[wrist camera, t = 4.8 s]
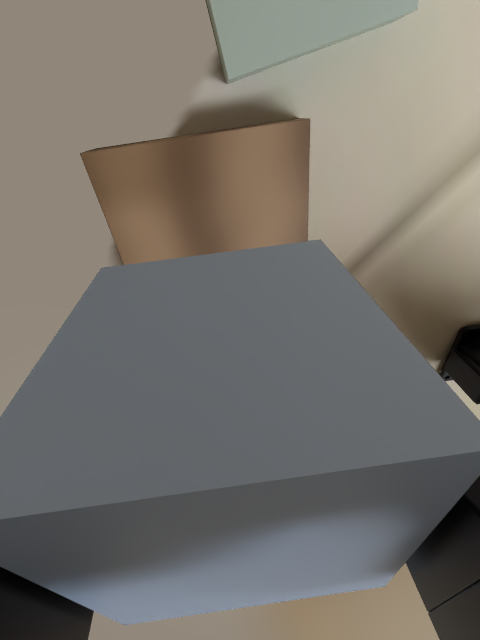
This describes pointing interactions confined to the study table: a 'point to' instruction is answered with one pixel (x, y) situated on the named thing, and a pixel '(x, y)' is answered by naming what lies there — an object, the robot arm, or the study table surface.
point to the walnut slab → (205, 191)
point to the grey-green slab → (291, 28)
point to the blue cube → (227, 440)
